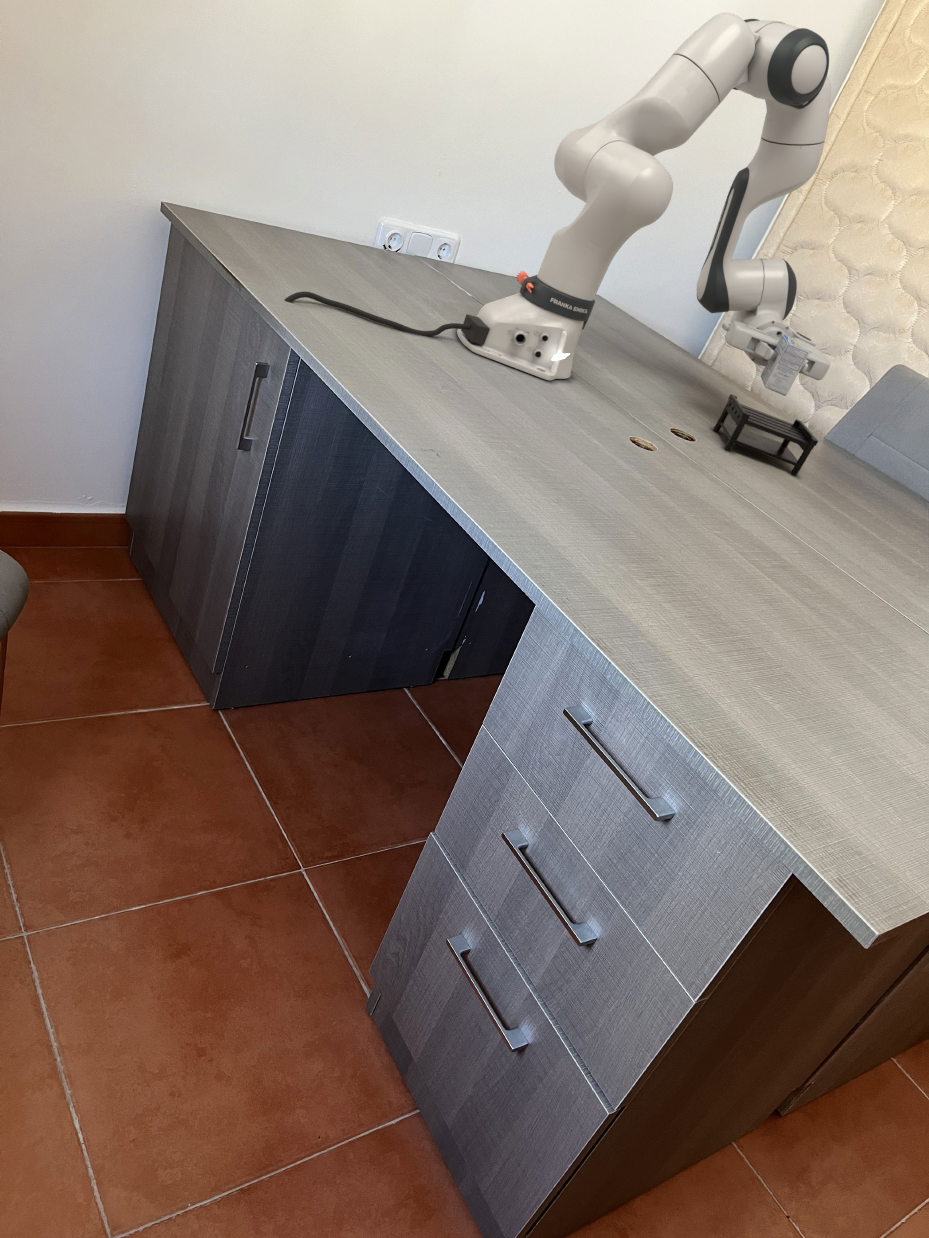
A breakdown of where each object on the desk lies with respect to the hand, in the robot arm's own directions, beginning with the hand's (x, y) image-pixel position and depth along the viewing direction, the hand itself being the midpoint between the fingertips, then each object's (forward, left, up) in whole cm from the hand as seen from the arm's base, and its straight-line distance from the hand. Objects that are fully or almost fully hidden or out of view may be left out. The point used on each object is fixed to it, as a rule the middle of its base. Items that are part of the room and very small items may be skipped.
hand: (787, 362), depth 169 cm
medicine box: (0, +1, -5) cm, 5 cm away
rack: (+2, -2, -17) cm, 17 cm away
